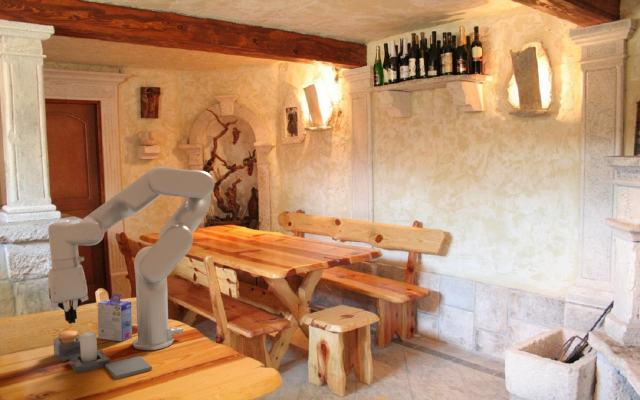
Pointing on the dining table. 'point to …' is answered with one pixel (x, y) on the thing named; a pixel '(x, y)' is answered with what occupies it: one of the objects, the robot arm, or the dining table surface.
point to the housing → (66, 349)
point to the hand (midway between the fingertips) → (71, 322)
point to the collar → (87, 366)
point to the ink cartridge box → (114, 319)
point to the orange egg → (68, 336)
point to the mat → (128, 367)
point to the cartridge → (88, 347)
